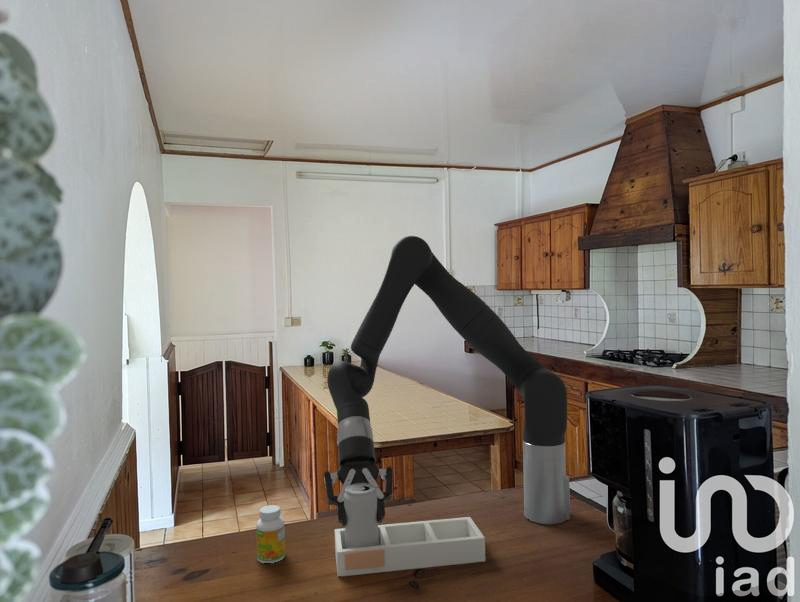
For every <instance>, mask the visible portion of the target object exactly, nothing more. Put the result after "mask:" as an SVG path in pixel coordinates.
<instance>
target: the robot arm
mask: <svg viewBox="0 0 800 602" xmlns="http://www.w3.org/2000/svg"><path fill="white" fill-rule="evenodd" d="M414 285H415V286H416V287H418V289H420V290H421V291H422V292H423V293H424V294H425V295H427V296H428V297H429V299H430V300H431V301H432V303H434V305H435V306H436V308H437V309H438V311H439V312H440V313H441V314H442V316H443V317H444V318H445V320H446V322H448V323H449V324H450V326H451V327H452V329H454V331H456V333H458V335H459V336H460V337H461V338H463V339H464V340H465V342H466V343H468V344H469V345H470V346H471V347H472V348H473V349H474V350H475V351H476V352H477V353H479V354H480V355H481V356H482V357H484V358H485V359H487V360H488V361H489V362H490V363H492V364H493V365H494V366H496V367H497V368H498V369H499V370H501V372H502V373H503V374H504V375H505V377H506V378H507V379H508V380H509V381H510V383H512V385H513V386H514V387H515V389H516V390H517V391H518V392H519V394H520V395H521V397H522V399H523V401H524V405H523V406H524V408H523V409H524V410H523V411H524V423H523V428H522V454H523V455H522V457H523V458H522V461H523V463H522V464H523V472H522V473H523V515H524V517H525V518H526V519H527V520H528V519H529V520H528V521H531V522H534V523H535V524H541V525H557V524H561V523H564V522H565V521H567V520H569V519H570V520H571V501H570V500H571V499H570V497H571V495H570V492H571V491H570V488H571V487H570V477H569V476H568V475H567V474H566V432H567V428H568V395H567V388H566V387H567V386H566V385H565V383H564V381H563V379H562V378H561V377H559V375H557V374H556V373H554V372H553V371H552V370H550V369H549V368H547V367H546V366H545V365H544V364H542V363H541V362H539V360H537V359H536V358H535V357H534V356H532V355H531V353H529V352H528V351H527V349H525V348H524V347H523V346H522V345H521V344H520V343H519V341H518V340H517V338H516V337H515V335H514V334H513V332H512V331H511V330H510V328H509V327H508V326H507V324H506V323H505V322H504V321H503V320H502V319H501V317H500V316H499V315H498V314H497V313H496V312H495V311H494V310H493V309H492V308H491V307H490V306H489V305H488V304H487V302H485V301H484V300H482V298H481V297H479V296H478V295H477V294H476V293H475V292H473V291H472V290H471V289H470V288H468V287H467V286H465V284H463V283H462V282H460V280H458V279H456V278H455V277H454V276H453V275H452V274H451V273H450V272H449V271H448V270H447V269H446V267H445V266H444V265H443V264H442V263H441V261H439V259H438V258H437V256H436V255H435V254H434V253H433V251H432V249H431V246H430V245H429V244H428V242H427V241H426V240H424V239H423V238H421V237H419V236H415V235H407V236H404V237H403V238H400V239H398V241H397V242H396V243H395V244H394V246H392V249H391V253H390V259H389V262H388V265H387V267H386V272H385V274H384V277H383V279H382V283H381V285H380V288H379V290H378V292H377V293H376V296H375V298H374V300H373V301H372V303H371V306H370V307H369V308H368V310H367V312H366V314H365V316H364V318H363V320H362V322H361V324H360V326H359V328H358V330H357V332H356V334H355V336H354V338H353V339H352V342H351V344H350V350H351V351H352V353H354V354H355V355H356V356H357V357H358V358H360V360H361V361H360V365H359V366H358V365H356V364H353V363H351V362H347V361H344V360H339V361H336V362H334V363H333V364H332V365H331V366H330V367H329V369H328V373H327V379H326V380H327V382H326V383H327V387H328V392H329V394H330V396H331V399H332V402H333V404H334V407H335V409H336V415H337V416H336V417H337V434H336V435H337V436H336V438H337V443H336V446H337V450H338V451H337V453H338V469H337V471H336V472H335V471H334V472H331V471H327V470H326V471H325V472H324V473H323V480H324V487H325V493H326V498H327V499H326V500H327V504H328V505H329V506H332V505H334V506H335V507H336V508H337V521H338V524H341V527H345V526H346V514H345V507H344V494H345V492H346V487H347V486H350V485H352V484H356V483H369V484H372V485H374V486H375V491H376V492H377V511H378V524H379V523H382V522H383V520H384V519H385V517H386V509H385V502H386V501H391V500H392V498H393V497H392V496H393V468H392V467H391V466H387V467H386V468H379V466H378V465H377V462H376V453H375V443H374V442H375V441H374V434H373V428H372V425H371V417H370V409H369V404H368V402H367V400H366V399H365V397H366V396H367V395H368V394H369V393H370V392H371V390H372V389H373V386H374V383H375V377H376V372H377V368H378V363H379V359H380V355H381V353H382V351H383V350H384V347H385V346H386V344H387V342H388V339H389V338H390V336H391V333H392V331H393V329H394V327H395V323H396V322H397V319H398V316H399V314H400V311H401V309H402V307H403V305H404V303H405V300H406V298H407V297H408V295H409V293H410V291H411V290H412V289H413V287H414ZM379 476H380V477H381V479H382V480H383V481H385V486H384V487H385V489H384V490H385V491H384V492H383V491H382V490H381V489H380V487H379V484H378V483H377V481H376V480H377V479H378V477H379ZM337 479H338V481H339V482H340V483H341V484H342V487H341V490H340V492H339V494H338V495H335V492H334V487H333V485H334V484H335V483H336V480H337ZM363 487H364V488H365V489H366V488H367V487H366V486H363Z"/></svg>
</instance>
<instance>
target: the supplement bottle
mask: <svg viewBox="0 0 800 602" xmlns="http://www.w3.org/2000/svg"><path fill="white" fill-rule="evenodd" d="M281 513H282V512H281V507H280V505H277V504H276V505H275V504H268V505H265V506H262V507H261V508H259V520H257V522H256V528H255V529H256V530H255V531H256V556H257V557H256V558H257V561H258V562H259V563H261V564H264V563H271V564H276V563H279V562H281V561H282V560H283V559H284V558H285V556H286V536H285V533H286V532H285V529H286V528H285V520H284V518H283V517H282V516H281ZM280 560H281V561H280ZM278 561H279V562H278ZM275 562H276V563H275Z"/></svg>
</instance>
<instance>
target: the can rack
mask: <svg viewBox="0 0 800 602" xmlns="http://www.w3.org/2000/svg"><path fill="white" fill-rule="evenodd" d="M378 541H379V545H378V546H371V547H361V548H350V549H346V546H345V527H344V528H343V527H342V528H334V548H335V549H334V552H335V562H336V563H335V564H336V573H337V577H339V576H340V577H348V576H357V575H358V576H359V575H366V574H367V575H368V574H376V573H377V574H378V573H386V572H387V573H388V572H395V571H405V570H413V569H414V570H415V569H424V568H433V567H442V566H452V565H454V566H455V565H462V564H463V565H464V564H472V563H481V562H482V563H483V562H486V537H485V535H484V534H483V533H482V531H481V530H480V529H479V527H478V526H477V525H476V524H475V521H473V519H472V517H470V516H465V517H463V516H462V517H455V518H452V517H451V518H445V519H444V518H443V519H441V518H440V519H431V520H430V519H429V520H422V521H411V522H399V523H397V522H396V523H389V524H388V523H387V524H378Z"/></svg>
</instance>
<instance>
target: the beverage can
mask: <svg viewBox="0 0 800 602" xmlns="http://www.w3.org/2000/svg"><path fill="white" fill-rule="evenodd" d="M363 486H366V487H367V488H366V489H365V488H364V487H363ZM344 507H345V514H346V526H344V528H345V546H346V549H350V548H361V547H371V546H378V545H379V541H378V525H379V523H378V511H377V492H376V491H375V486H374V485H372V484H369V483H356V484H352V485H350V486H347V487H346V492H345V494H344Z"/></svg>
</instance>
